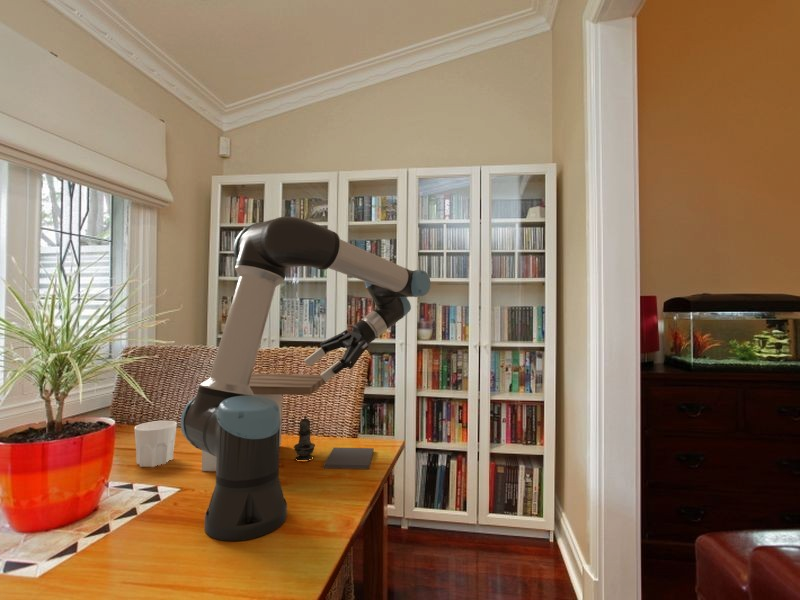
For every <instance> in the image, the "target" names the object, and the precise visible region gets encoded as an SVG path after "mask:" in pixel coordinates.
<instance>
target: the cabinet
mask: <svg viewBox="0 0 800 600" xmlns="http://www.w3.org/2000/svg"><path fill="white" fill-rule="evenodd" d="M326 383H327V382H325V381H324V379H323V378H322V376H321V375H320V374H297V373H296V374H293V373H292V374H289V373H287V374H286V373H284V374H282V373H252V376H251V379H250V383H249V387H250V388H251V390H252V392H253V393H254V394H253V396H256V397H259V396H260V397H265V398H268V399H271V400H273V401H274V402H276V404H277V405H278V407H279V410H280V420H281V421H282V418H283V417H282V408H283V407H282V405H283V395H288V396H290V395H291V396H294V395H296V396H311V395H312V394H314V393H315V392H316V391H317V390H319V389H320V388H321V387H323V386H324V385H325V384H326ZM280 445H281V446H282V425H281V426H280V440H279V446H280ZM201 452H202V453H201V471H202V472H216V460H217V457H215V456H213V455H211V454H209V453H207V452H205V451H203V450H201Z"/></svg>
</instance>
